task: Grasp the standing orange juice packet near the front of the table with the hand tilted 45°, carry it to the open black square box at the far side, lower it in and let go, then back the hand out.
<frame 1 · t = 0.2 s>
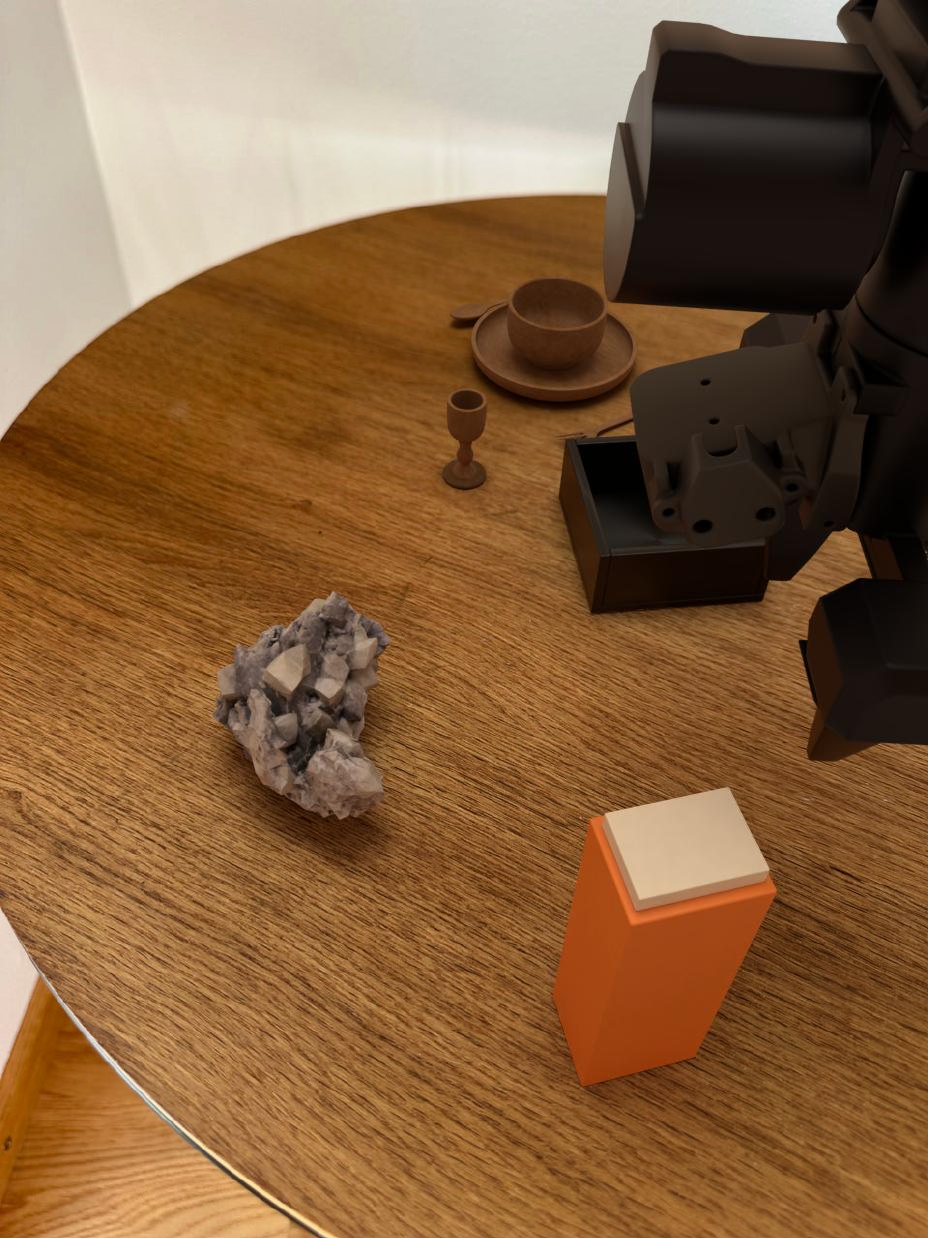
hand: (796, 661, 42), 13 cm above the table, tool pointing down, fingers open, 9 cm apart
mineral specimen: (310, 743, 55), on the table
place setting: (509, 382, 77), on the table
packet: (622, 1026, 46), on the table
open black square box: (655, 546, 65), on the table
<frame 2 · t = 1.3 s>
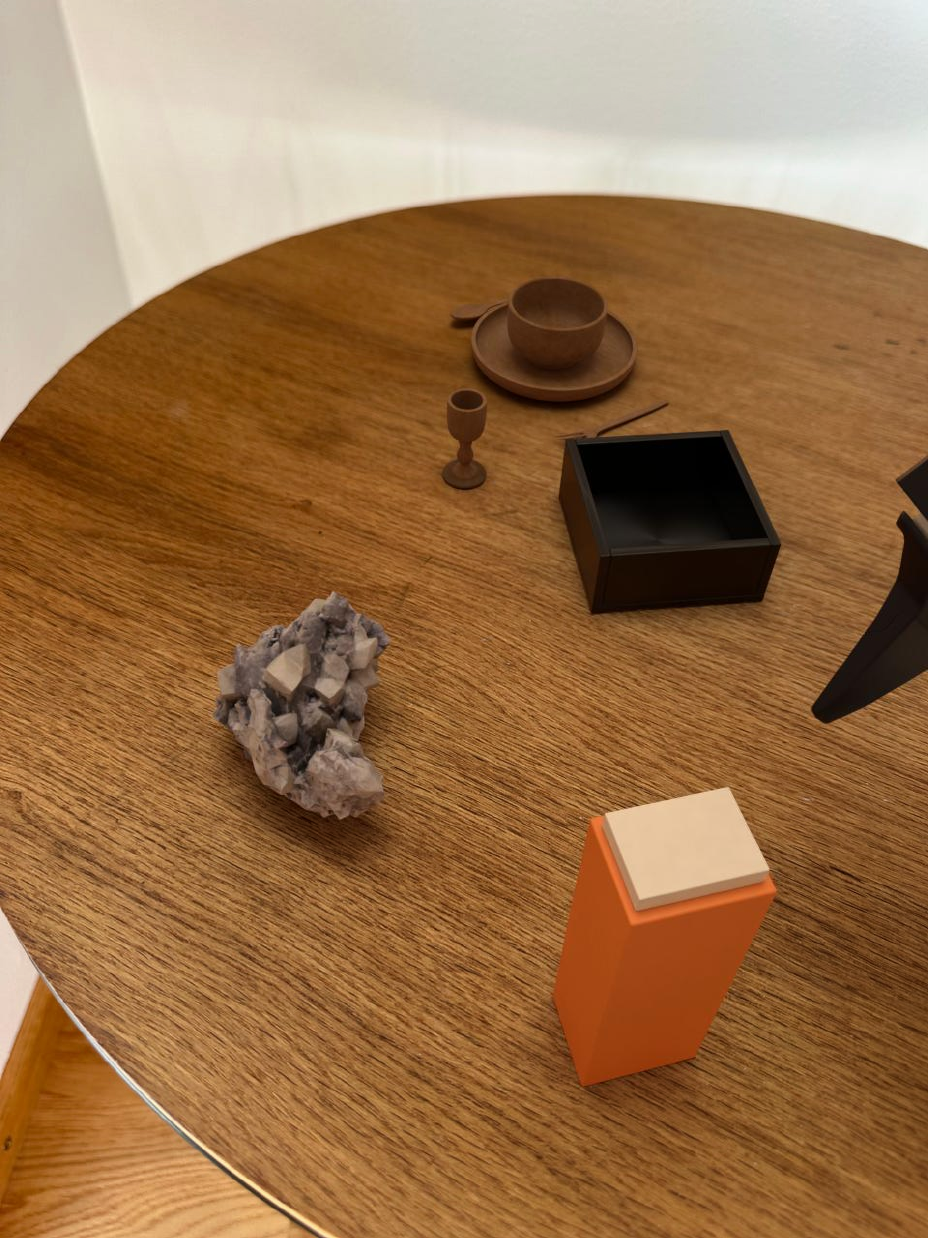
hand: (878, 821, 37), 13 cm above the table, tool tilted 45°, fingers open, 9 cm apart
nothing on the table moved.
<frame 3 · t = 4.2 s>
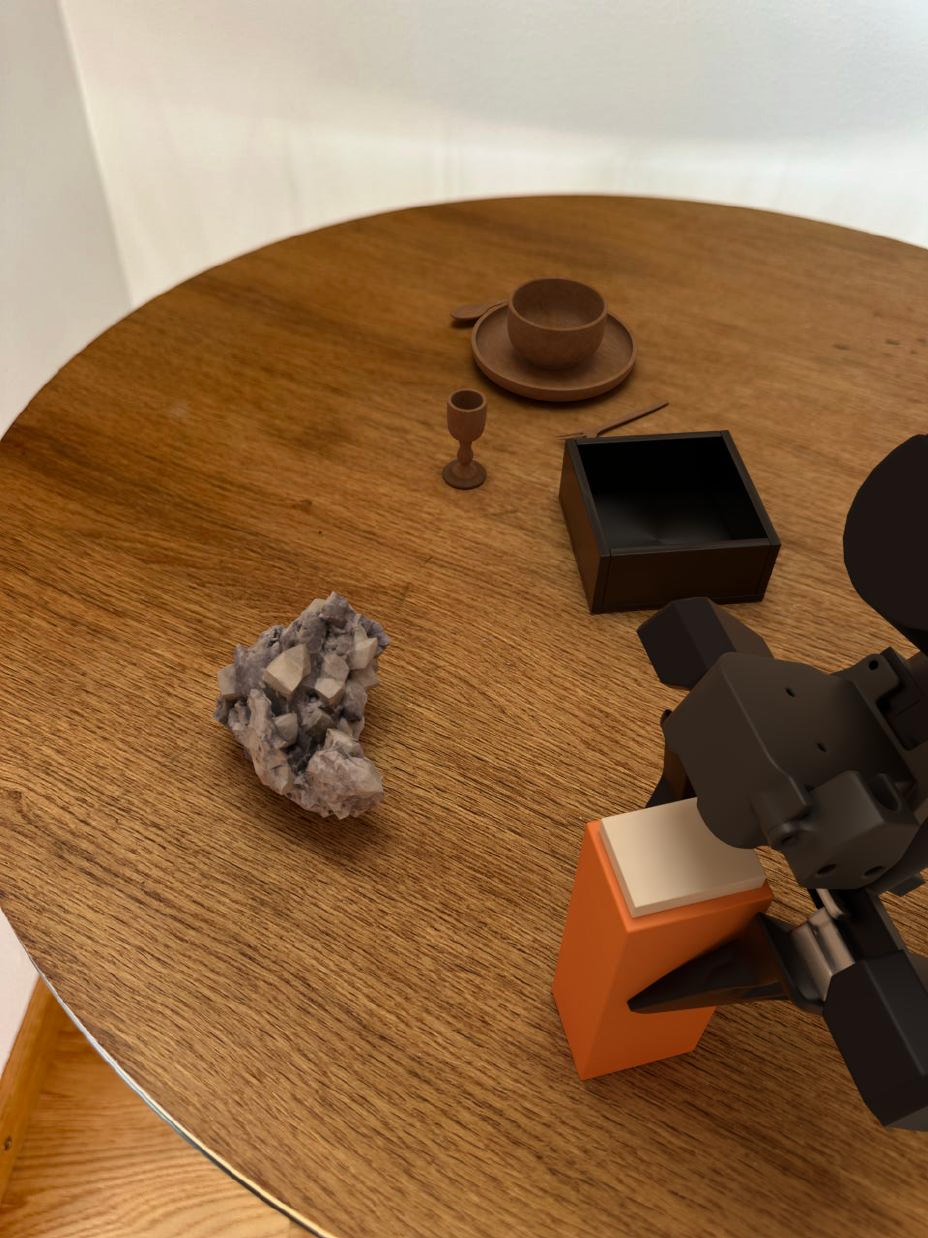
hand: (613, 952, 40), 8 cm above the table, tool tilted 45°, fingers closed on packet, 4 cm apart
packet: (621, 1019, 46), on the table, touching gripper
everything else where it was.
when the fingers open (8 cm above the table, at t = 12.1 s): packet stays where it is, resting on open black square box.
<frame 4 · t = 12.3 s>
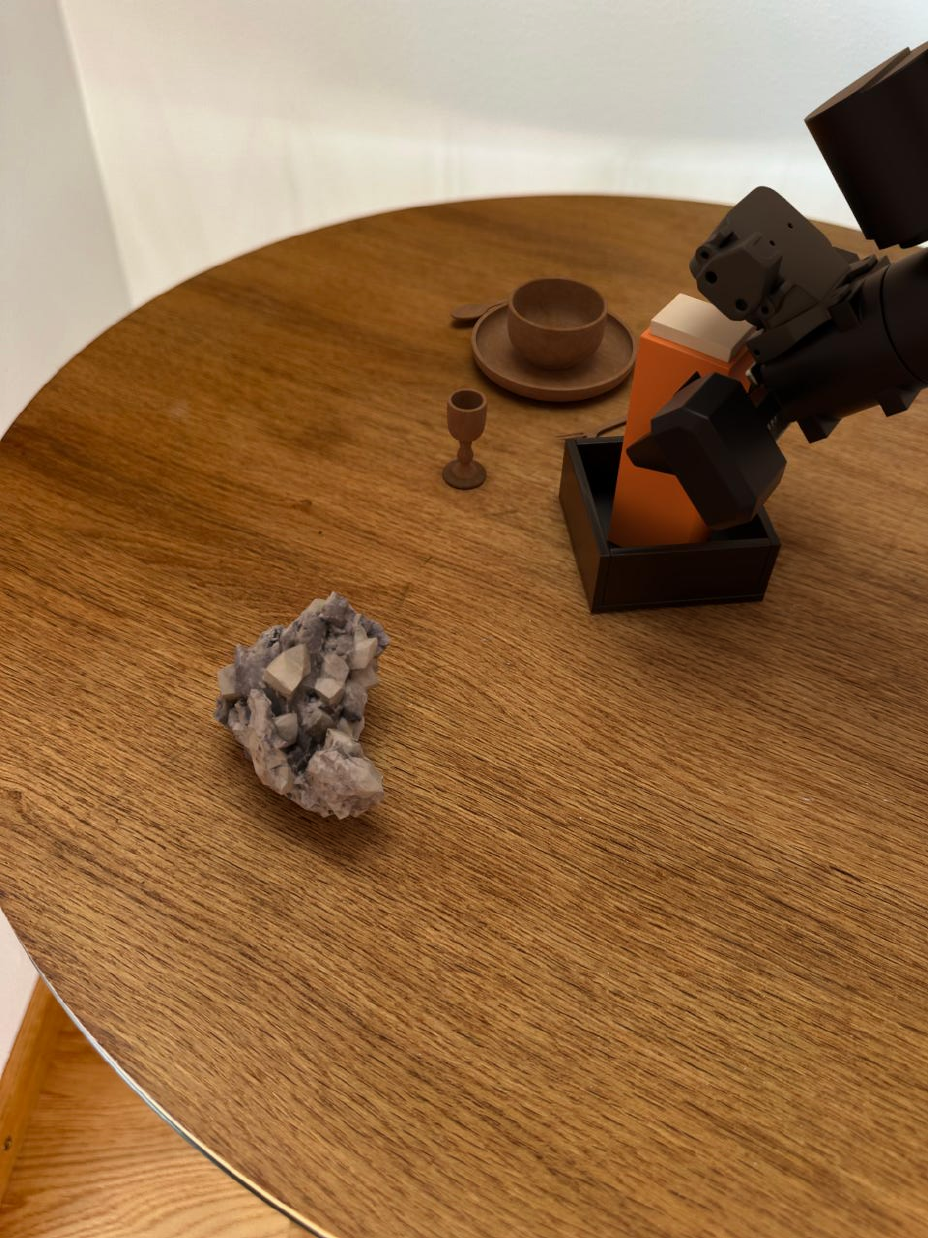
hand: (656, 429, 60), 8 cm above the table, tool tilted 45°, fingers open, 6 cm apart
packet: (659, 539, 65), point 1 cm above the table, touching gripper, open black square box
everything else where it was.
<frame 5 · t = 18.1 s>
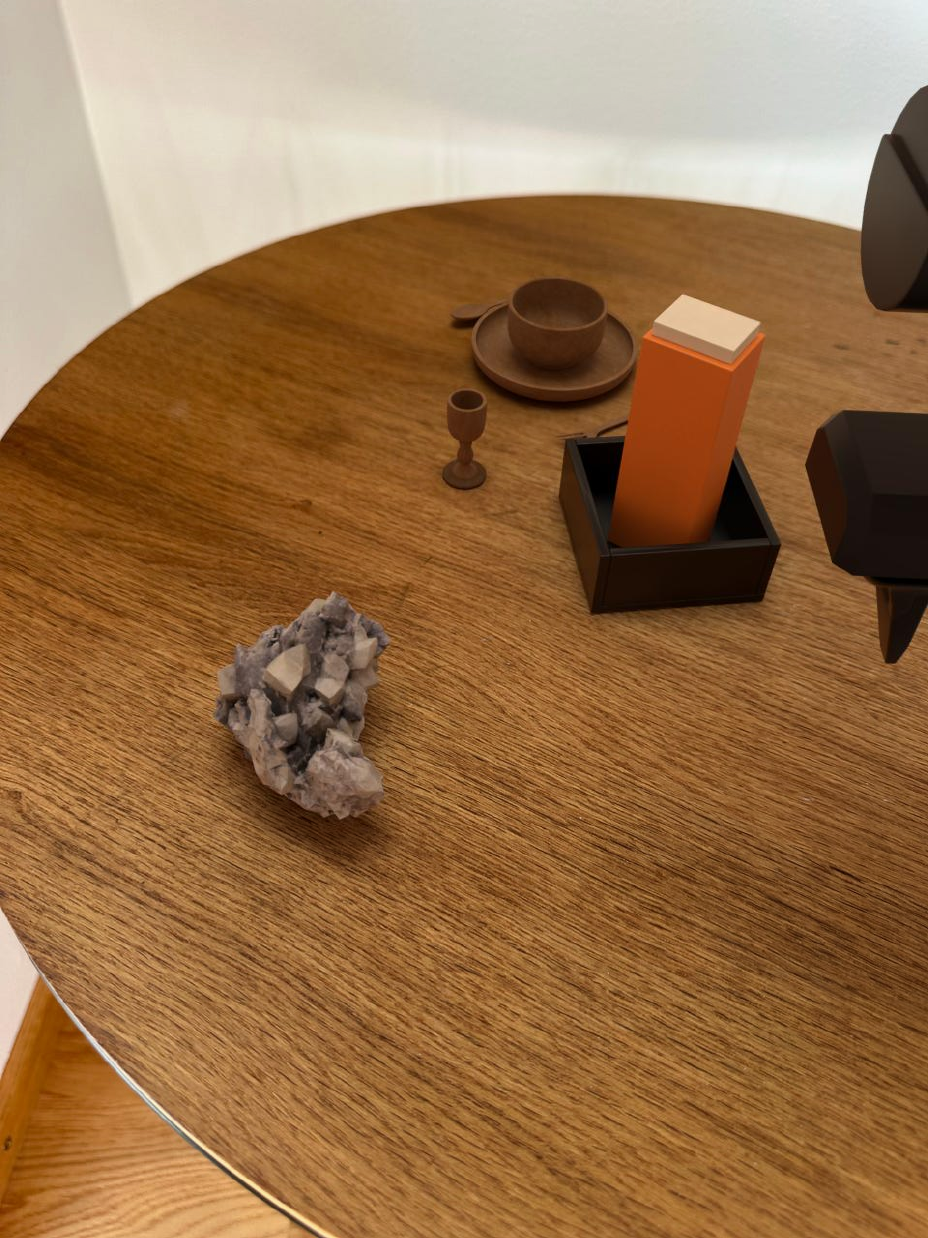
packet: (659, 539, 65), point 1 cm above the table, touching open black square box
everything else where it was.
at the end: packet inside the target area in the open black square box (0.1 cm from its centre), point 0.6 cm above the open black square box's base; the gripper is holding nothing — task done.
